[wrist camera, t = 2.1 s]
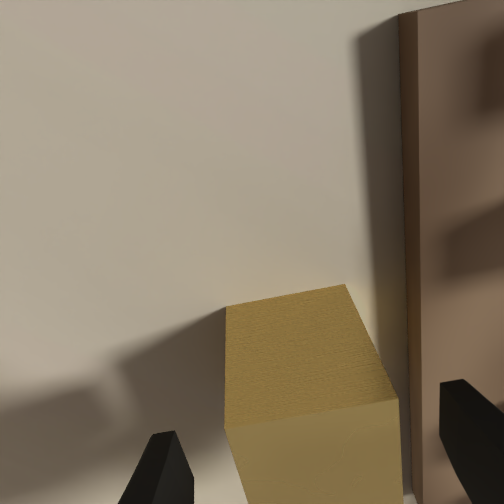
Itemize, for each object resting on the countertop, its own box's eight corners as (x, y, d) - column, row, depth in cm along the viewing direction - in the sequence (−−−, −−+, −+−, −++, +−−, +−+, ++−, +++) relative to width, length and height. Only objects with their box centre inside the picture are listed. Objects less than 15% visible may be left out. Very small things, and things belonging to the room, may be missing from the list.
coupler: (344, 283, 14) (398, 398, 9) (354, 373, 16) (403, 505, 11) (226, 305, 14) (224, 429, 10) (249, 392, 16) (256, 529, 11)
